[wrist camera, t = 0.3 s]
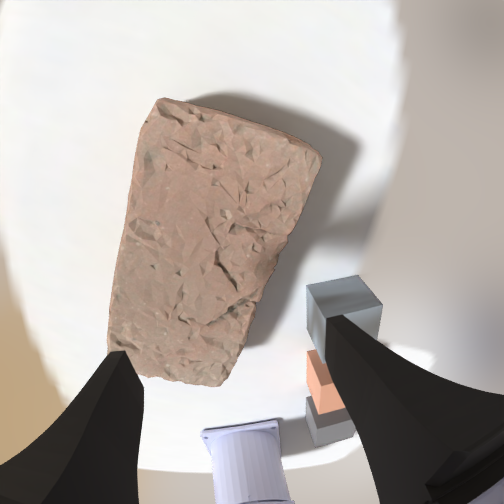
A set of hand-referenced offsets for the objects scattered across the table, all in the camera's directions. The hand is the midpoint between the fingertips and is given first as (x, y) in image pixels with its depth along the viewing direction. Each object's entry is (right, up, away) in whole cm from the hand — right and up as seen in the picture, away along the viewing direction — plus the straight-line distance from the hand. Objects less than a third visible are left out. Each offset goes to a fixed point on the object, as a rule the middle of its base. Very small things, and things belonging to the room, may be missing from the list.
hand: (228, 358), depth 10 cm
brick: (-3, +4, +9) cm, 10 cm away
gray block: (+8, -12, +18) cm, 23 cm away
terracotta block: (+8, -6, +15) cm, 18 cm away
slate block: (+7, 0, +12) cm, 14 cm away
